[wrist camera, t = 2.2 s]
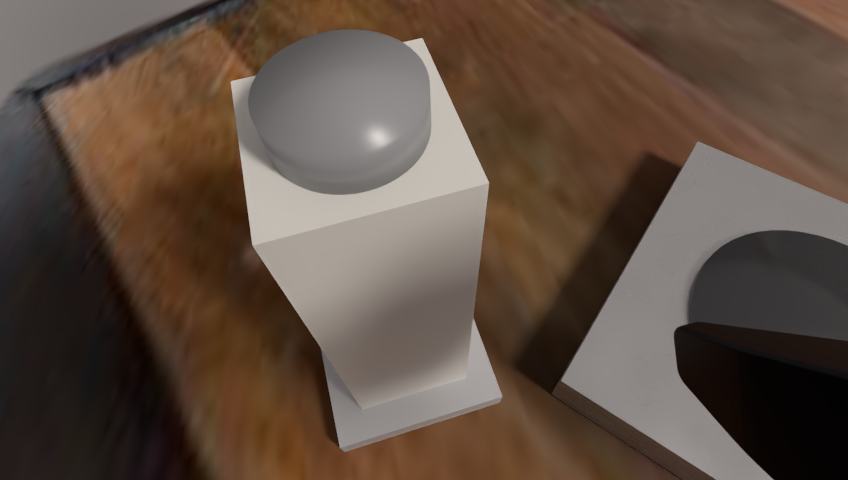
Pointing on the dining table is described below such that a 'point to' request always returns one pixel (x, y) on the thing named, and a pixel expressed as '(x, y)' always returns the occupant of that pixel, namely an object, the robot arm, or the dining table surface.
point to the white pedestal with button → (370, 225)
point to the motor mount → (708, 304)
